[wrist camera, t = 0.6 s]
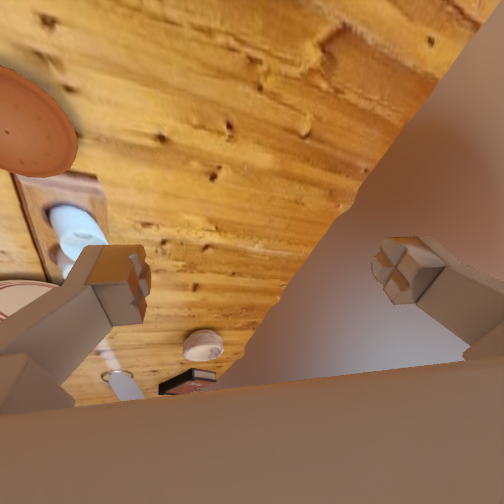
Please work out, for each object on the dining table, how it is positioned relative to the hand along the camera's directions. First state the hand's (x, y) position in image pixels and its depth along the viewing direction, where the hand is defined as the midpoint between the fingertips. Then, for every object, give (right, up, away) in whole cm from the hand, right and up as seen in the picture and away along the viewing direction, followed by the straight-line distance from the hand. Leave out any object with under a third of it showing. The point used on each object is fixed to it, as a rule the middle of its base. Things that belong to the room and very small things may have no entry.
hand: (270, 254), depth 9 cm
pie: (-35, +20, +29) cm, 50 cm away
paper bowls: (-20, -33, +91) cm, 99 cm away
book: (-35, -68, +127) cm, 148 cm away
